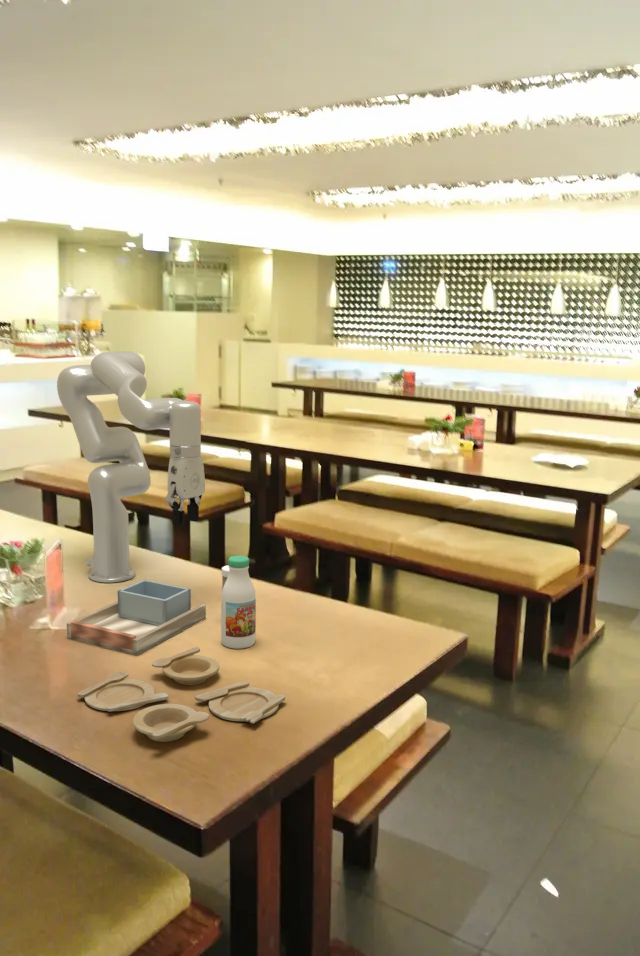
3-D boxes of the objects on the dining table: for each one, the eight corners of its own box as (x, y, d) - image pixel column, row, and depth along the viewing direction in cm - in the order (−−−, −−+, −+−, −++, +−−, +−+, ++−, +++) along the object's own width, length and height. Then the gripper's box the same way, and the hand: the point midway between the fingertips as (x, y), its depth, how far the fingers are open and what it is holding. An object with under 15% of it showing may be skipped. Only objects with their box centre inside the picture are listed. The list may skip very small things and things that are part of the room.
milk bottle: (214, 645, 186) (214, 559, 182) (233, 634, 193) (233, 551, 189) (243, 652, 183) (243, 565, 179) (261, 640, 189) (262, 556, 185)
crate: (118, 616, 199) (117, 590, 197) (144, 603, 208) (144, 579, 206) (165, 627, 193) (165, 601, 191) (190, 614, 201) (190, 588, 200)
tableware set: (299, 712, 157) (299, 692, 156) (169, 768, 136) (168, 745, 136) (190, 655, 181) (190, 638, 180) (66, 695, 161) (65, 676, 160)
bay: (67, 638, 188) (66, 621, 187) (140, 604, 211) (139, 589, 210) (137, 655, 179) (137, 638, 178) (205, 618, 202) (205, 602, 201)
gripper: (176, 458, 195) (177, 532, 198) (217, 448, 210) (217, 518, 213) (151, 455, 198) (152, 528, 202) (193, 445, 213) (193, 514, 217)
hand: (185, 522), depth 208 cm, fingers open, 5 cm apart
